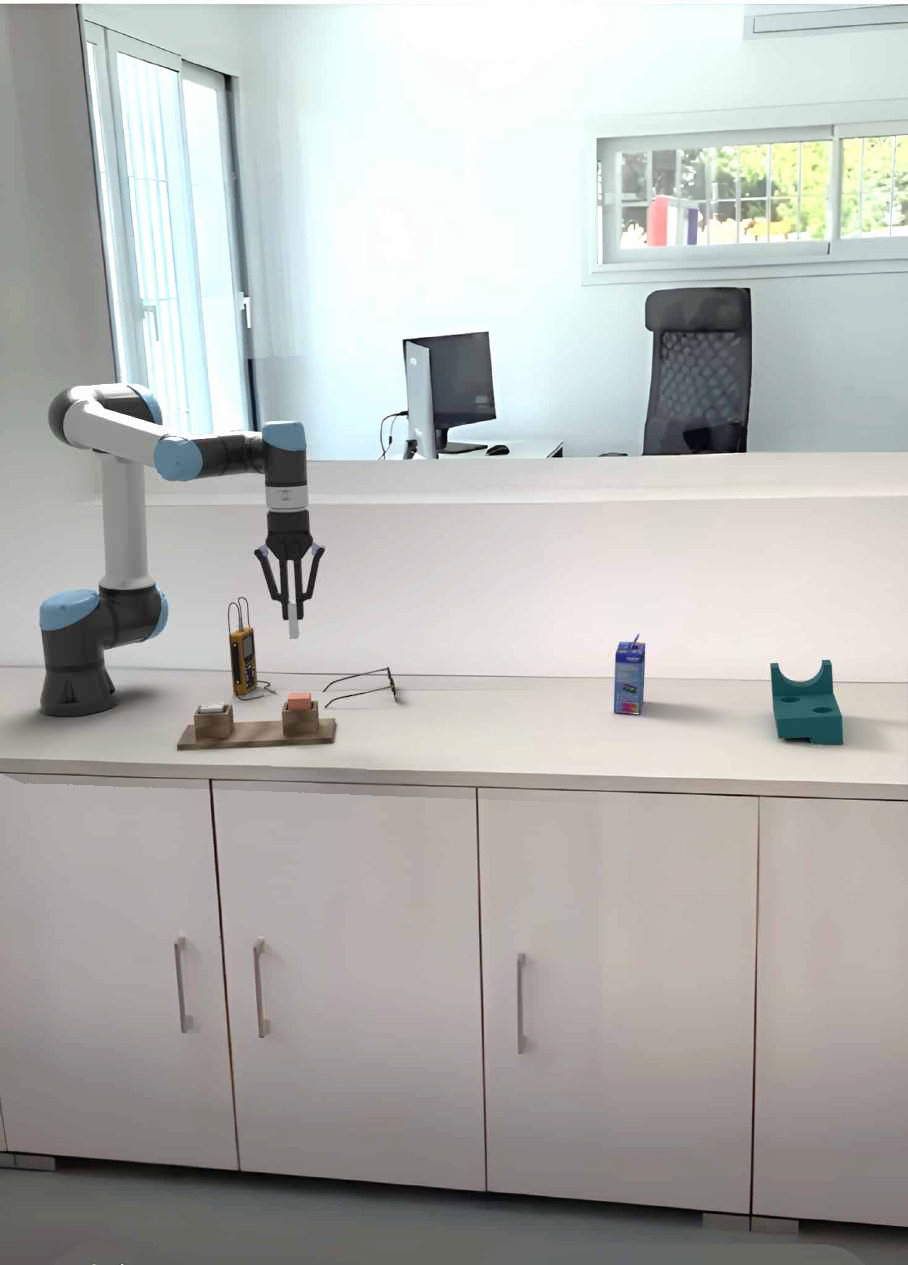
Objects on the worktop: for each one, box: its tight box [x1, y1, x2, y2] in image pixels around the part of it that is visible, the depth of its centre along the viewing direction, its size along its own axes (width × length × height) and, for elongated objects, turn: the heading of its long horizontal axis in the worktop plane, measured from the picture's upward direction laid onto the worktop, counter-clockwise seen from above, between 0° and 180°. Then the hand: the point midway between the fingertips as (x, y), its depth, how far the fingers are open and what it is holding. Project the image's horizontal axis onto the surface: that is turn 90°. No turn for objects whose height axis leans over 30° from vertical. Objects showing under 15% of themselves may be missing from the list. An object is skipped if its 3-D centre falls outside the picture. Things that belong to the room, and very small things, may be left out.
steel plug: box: [200, 701, 226, 714], centre depth 215 cm, size 4×4×5 cm
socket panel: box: [176, 699, 336, 751], centre depth 216 cm, size 28×12×6 cm, turn 93°
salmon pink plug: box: [287, 691, 312, 710], centre depth 215 cm, size 4×4×5 cm
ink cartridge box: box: [613, 633, 646, 714], centre depth 225 cm, size 10×6×14 cm, turn 167°
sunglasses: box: [322, 666, 397, 709], centre depth 239 cm, size 14×15×5 cm
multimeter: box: [227, 596, 280, 701], centre depth 244 cm, size 15×10×20 cm
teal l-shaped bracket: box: [769, 659, 844, 745], centre depth 210 cm, size 18×11×10 cm, turn 168°
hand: (294, 636), depth 213 cm, fingers closed
